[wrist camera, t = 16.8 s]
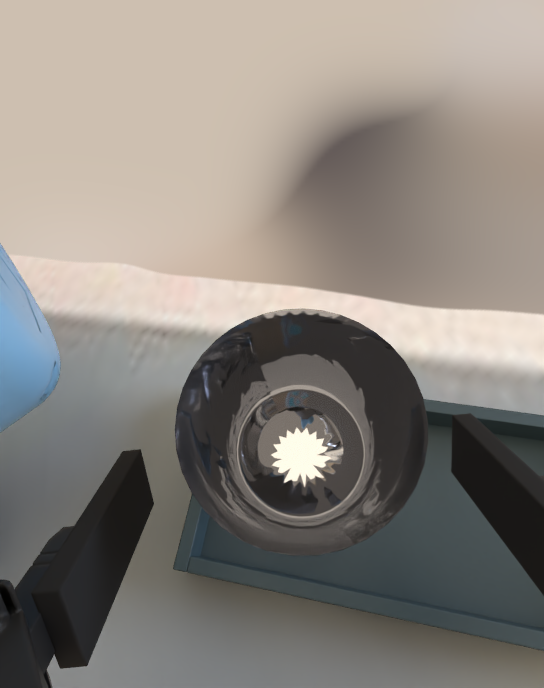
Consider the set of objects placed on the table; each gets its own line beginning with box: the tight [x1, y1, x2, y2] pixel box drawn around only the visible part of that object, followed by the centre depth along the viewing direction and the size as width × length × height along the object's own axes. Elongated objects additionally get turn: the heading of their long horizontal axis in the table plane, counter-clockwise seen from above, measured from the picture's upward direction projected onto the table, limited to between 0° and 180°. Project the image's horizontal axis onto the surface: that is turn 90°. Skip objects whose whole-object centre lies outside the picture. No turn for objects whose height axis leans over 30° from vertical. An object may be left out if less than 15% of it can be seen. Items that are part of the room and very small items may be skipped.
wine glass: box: [175, 309, 428, 556], centre depth 19 cm, size 8×8×15 cm
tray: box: [173, 399, 544, 651], centre depth 24 cm, size 27×12×3 cm, turn 80°
